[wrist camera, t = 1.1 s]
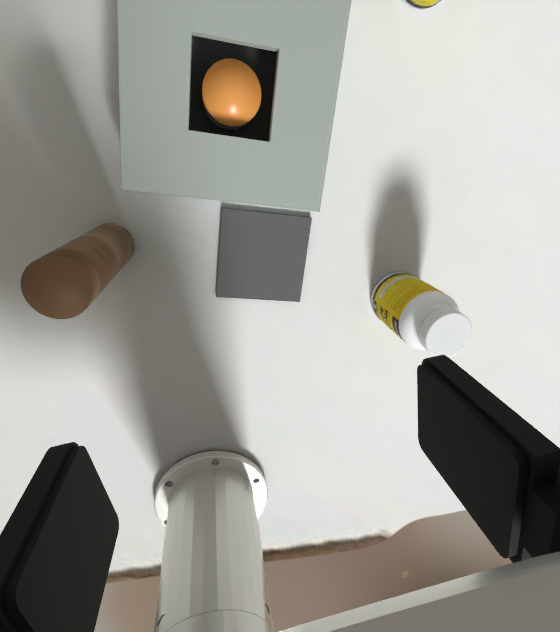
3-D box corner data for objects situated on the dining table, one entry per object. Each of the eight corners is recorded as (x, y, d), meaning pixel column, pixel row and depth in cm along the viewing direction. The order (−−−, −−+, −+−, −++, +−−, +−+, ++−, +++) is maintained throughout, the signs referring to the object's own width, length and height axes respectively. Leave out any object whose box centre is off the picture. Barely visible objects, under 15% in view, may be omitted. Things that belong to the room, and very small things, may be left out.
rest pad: (298, 300, 37) (299, 301, 37) (216, 295, 36) (216, 296, 35) (310, 217, 35) (311, 217, 34) (221, 207, 33) (222, 208, 33)
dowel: (134, 266, 33) (93, 320, 22) (91, 262, 33) (24, 317, 21) (133, 225, 32) (90, 259, 20) (89, 221, 32) (17, 253, 20)
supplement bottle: (358, 298, 38) (404, 338, 29) (399, 260, 38) (458, 288, 29) (389, 331, 40) (441, 377, 31) (428, 295, 40) (493, 332, 31)
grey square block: (301, 204, 34) (319, 211, 29) (136, 185, 31) (121, 189, 26) (326, 17, 29) (354, -18, 24) (134, -26, 26) (115, -77, 21)
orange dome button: (253, 133, 30) (258, 129, 27) (201, 125, 29) (200, 121, 26) (258, 74, 28) (264, 64, 26) (204, 64, 28) (203, 53, 25)
